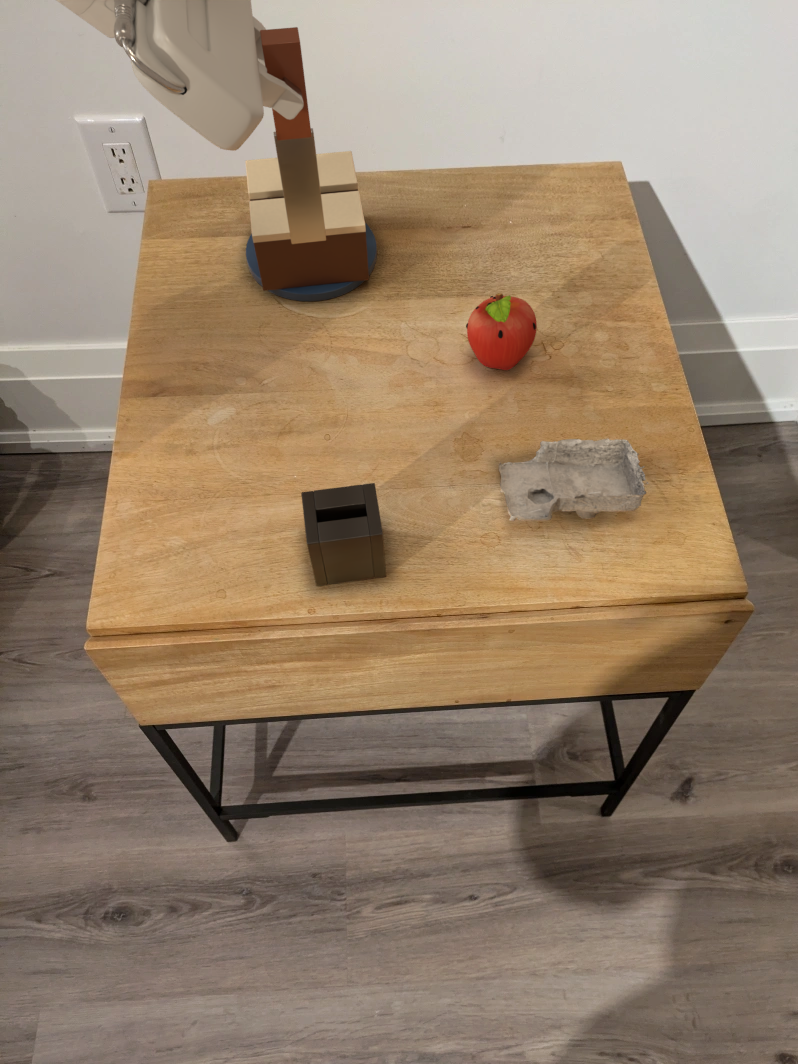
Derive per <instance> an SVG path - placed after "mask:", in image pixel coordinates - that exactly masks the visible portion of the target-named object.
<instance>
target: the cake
mask: <svg viewBox="0 0 798 1064" xmlns="http://www.w3.org/2000/svg"><path fill="white" fill-rule="evenodd" d="M316 157H317V165H318V174H319V182H320V190H321V199H322V207H323V216H324V224H325V233H326V241H316V242H307V243H297V244H292V243H291V237H290V231H289V225H288V219H287V213H286V207H285V201H284V195H283V188H282V182H281V176H280V170H279V164H278V158H277V157H267V158H257V159H247V160H244V161H245V173H246V183H247V194H248V199H249V201H248V205H249V217H250V218H249V219H250V229H251V234H250V235H249V237H248V239H247V242H246V247H245V256H246V263H247V268H248V270H249V272H250V274H251V276H252V278H253V279H254V281H256V283H258V285H259V286H260V287H262V290H263V291H264V292H265V291H267V292H269V293H271V294H273V295H275V296H277V297H280V298H283V299H287V300H291V301H297V302H298V301H299V302H320V301H321V302H322V301H327V300H331V299H336V298H338V297H340V296H343V295H346V294H348V293H350V292H352V291H354V290H355V289H356V288H358V287H359V286H360V285H362V284H363V283H364V282H366V281H369V280H370V276H371V274H372V272H373V271H374V269H375V266H376V263H377V259H378V248H377V246H378V245H377V240H376V237H375V234H374V232H373V230H372V228H371V227H370V226H369V225H368V223H366V222H365V217H364V215H365V214H364V211H363V210H364V209H363V206H362V200H361V194H360V191H359V183H358V178H357V173H356V167H355V162H354V156H353V151H352V150H346V151H334V152H325V153H316Z"/></svg>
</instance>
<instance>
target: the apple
mask: <svg viewBox="0 0 798 1064" xmlns="http://www.w3.org/2000/svg"><path fill="white" fill-rule="evenodd" d="M503 294H504V293H502V292H498V293H496V294H495V296H493V295H491V296H490V297H488V298H486V299H485V300H483V301H482V302H480V303H479V304H478V305H477V306H476V307H475V308H474V309H473V310H472V312H471V313H470V315H469V318H468V320H467V323H466V325H465V328H466V335H467V340H468V344H469V346H470V349H471V350H472V351H473V353H474V355H475V357H476V359H477V360H478V361H479V363H480V364H482V365H483V366H485V367H486V368H489V369H497V370H502V371H509V370H512V369H513V368H514V367H515V366H516V365H518V363H519V362H520V361H521V360H522V359H523V358H524V357H525V356H526V354H527V353H529V351H530V349H531V347H532V346H533V344H534V341H535V339H536V335H537V329H538V328H537V327H538V326H537V325H538V324H537V323H538V322H537V318H536V317H537V316H536V313H535V311H534V309H533V308H532V306H531V305H530V303H528V301H526V300H524V299H522V298H521V297H520V298H519V297H516V296H511V295H510V294H509V295H503Z"/></svg>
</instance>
